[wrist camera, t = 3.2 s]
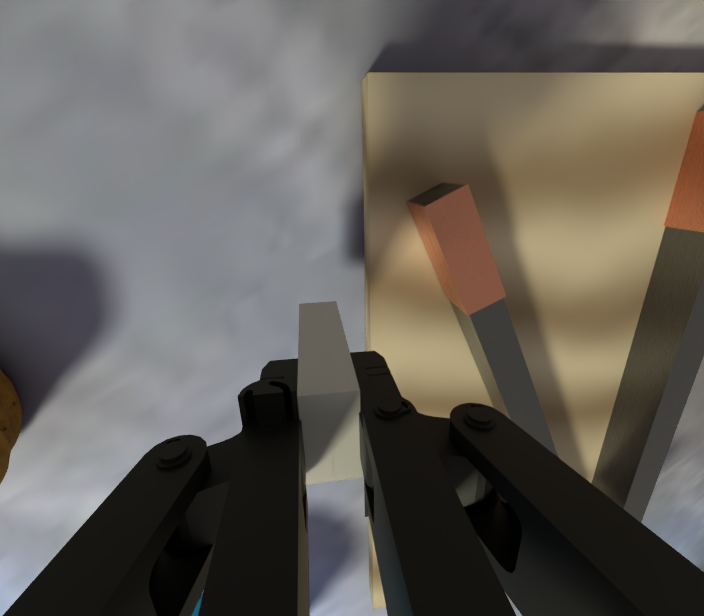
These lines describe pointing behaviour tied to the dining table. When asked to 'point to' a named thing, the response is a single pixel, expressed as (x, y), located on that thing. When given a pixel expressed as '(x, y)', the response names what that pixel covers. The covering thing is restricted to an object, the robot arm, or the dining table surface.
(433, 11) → the dining table surface
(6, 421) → the bread roll
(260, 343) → the dining table surface
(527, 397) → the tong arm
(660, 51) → the dining table surface
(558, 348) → the board
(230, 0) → the dining table surface
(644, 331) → the tong fixed
